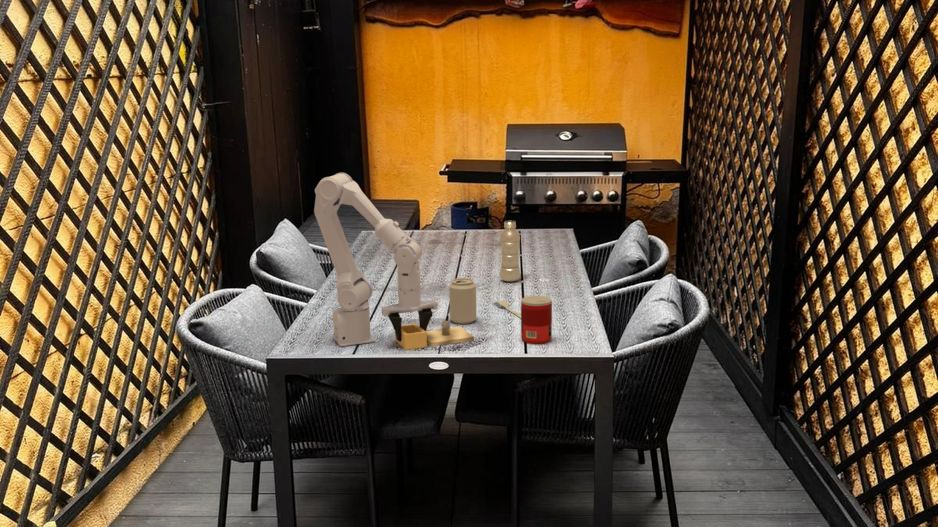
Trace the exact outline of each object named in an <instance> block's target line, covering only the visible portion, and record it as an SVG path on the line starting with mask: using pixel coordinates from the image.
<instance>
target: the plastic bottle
mask: <svg viewBox="0 0 938 527" xmlns="http://www.w3.org/2000/svg"><path fill="white" fill-rule="evenodd" d="M516 223H517V222H516V220H505V221H504V223H503V224H504V225H503V228H504V230H503V231H502V232H501V234H500V236H499V240H500V247H501V264H500V265H501V266H500V271H499V275H500V276H499V277H500V279H501V281H503V282H510V283H511V282H516V281H519V279H520V278H521V270H520V267H519V266H520V264H519V263H520V262H519V252H520V250H519V249H520V244H521V243H520V241H521V236H520V233H519V232H518V231H517V229H516V228H517V224H516Z"/></svg>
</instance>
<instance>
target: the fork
mask: <svg viewBox="0 0 938 527" xmlns="http://www.w3.org/2000/svg"><path fill="white" fill-rule="evenodd" d="M491 304H492V305H493V304H499V305H500V306H501V307H504V308H505V309H506V310H507V311H508V312H511V313H512V314H514V315H515V316H516V317H518V318H519V319H521V312H520V313H519V312H517V311H514V310H513V309H511V308H510V307H509V302H508V301H507V300H499V301H494V302H492V303H491Z"/></svg>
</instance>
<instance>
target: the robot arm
mask: <svg viewBox="0 0 938 527" xmlns="http://www.w3.org/2000/svg"><path fill="white" fill-rule="evenodd" d="M314 193H315V200H314V208H313V212H314V216H315V218H316V222H317V225H318V227H319V229H320V232H321V235H322V237H323V240H324V243H325V245H326V249H327V251H328V254H329V257H330V259H331V262H332V264H333V267H334V270H335V272H336V276H337V280H336V285H335V288H336V291H337V297H336V298H337V302H338V305H339V307H341V308H339V309H335V310H334V311H333V312H332V324H333V326H332V327H333V337H332V338H333V339H334V341H335V342H336V343H337V344H338V346H340V347H347V346H353V345H354V346H355V345H361V344H368V343H375V342H376V339H375V337H373V335H371V315H370V312H371V311H370V303H369V300H370V299H371V297H372V294H373V287H372V286H371V283H370V282H369V281H367V280H366V278H365V275H364V273H363V272H362V271H360V270H359V269H358V268H357V265H356V262H355V259H354V257H353V255H352V251H351V249H350V248H351V247H350V245H349V243H348V241H347V237H346V235H345V232H344V229H343V227H342V224H341V221H340V218H339V215H338V210H339V208H340V207H341V205H347V206H351V207H353V208H354V209H355V210H356V211H357V212H358V213H359V214H360V215H361V216H362V217H364V218H365V219H366V221H367V222H369V223H370V224H371V225H372V226H373V227H374V235H375V236H376V237H377V239H378V240H380V241H381V243H382V244H383V245H384V246H385V247H386V248H387V249H388V250H389V251H390V252H391V253H392V254H393V257H392V258H393V261H394V262H395V264H396V265H397V296H398V299H397V300H398V303H394V304H391V305H390V304H389V305H386V306H382V307H381V315H382V316H384V317H388V319H389V320H390V322H391V325H392V327H393V331H394V335H395V334H396V338H397V340H398V341H401V340H402V335H401V325H402V322H403V318H402V317H401V314H404V313H405V314H406V313H411V312H412V313H414V312H417V313H418V321H419V326H420V327H421V328H422V329H423V330H424V331H427V328H428V326H429V323H430V322H431V319H432V317H433V314H434V313H433V311H432V310H434V311H435V310H438V301H436V300H422V299H421V271H420V259H421V257H422V254H423V249H422V247H421V244H419V242H418V241H417V240H415V239H412V237H410V235H409V236H408V235H407V234H406V233H405V232H404V231H403V230H402V229H401V228H400V227H399V226H400V224H399V222H397V220H395V221H394V220H393V219H391V218H385V217H384V216H383V215H382V214H381V213H380V210H378V209H377V208H376V207H375V205H374V204H373V203H372V201H371V200H370V199H369V198H368V197H367V196H366V194H365V193H364V192H363V191H362V189H361V187H360V186H359V184H358V183H357V182H356V181H355V180H353V178H352V177H351V176H350V175H349V174H347V173H346V172H338V173H335V174H334V175H331V176H326V177H323V178H322V179H321V180H320V181H319V182H318V184H317V185H316V187H315V189H314Z"/></svg>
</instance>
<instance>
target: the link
mask: <svg viewBox="0 0 938 527" xmlns="http://www.w3.org/2000/svg"><path fill="white" fill-rule="evenodd" d="M426 331H427V330H426ZM426 331H424V330H423V329H422V328H421V327H420V325H418V324H417V323H416V322H415V323H409V324H401V335H402V340H401V341H398V340H397V338H396V334H395V333H394V339H395V343H397V344H398V345H399V346H400V347H402V349H404V350H405V351H408V350H415V349H416V350H417V349H420V348H421V349H422V348H428V343H427V333H426Z"/></svg>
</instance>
